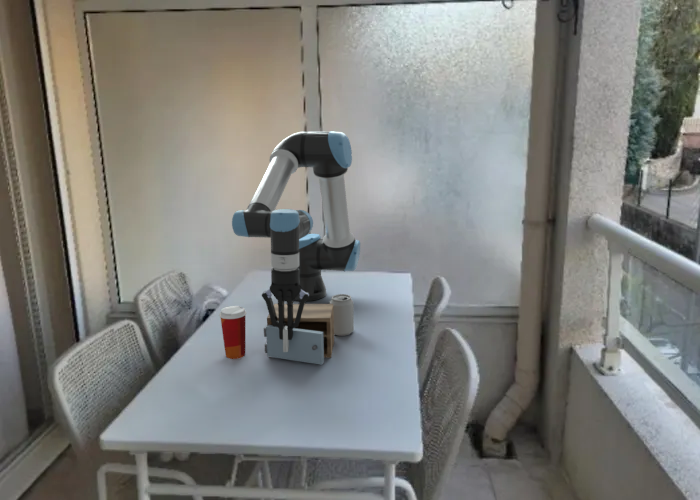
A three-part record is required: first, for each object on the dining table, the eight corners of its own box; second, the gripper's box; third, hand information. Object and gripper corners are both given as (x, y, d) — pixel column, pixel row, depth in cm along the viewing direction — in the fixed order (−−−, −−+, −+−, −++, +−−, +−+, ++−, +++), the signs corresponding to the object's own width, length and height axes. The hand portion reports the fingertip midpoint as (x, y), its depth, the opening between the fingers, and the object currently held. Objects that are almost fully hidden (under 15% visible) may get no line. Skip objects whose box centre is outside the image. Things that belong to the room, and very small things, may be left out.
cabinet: (276, 340, 175) (274, 303, 173) (334, 340, 175) (333, 303, 172) (268, 356, 164) (266, 317, 161) (331, 357, 163) (330, 318, 160)
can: (351, 337, 177) (350, 301, 174) (327, 336, 178) (327, 299, 176) (355, 328, 184) (355, 293, 181) (333, 327, 186) (332, 292, 183)
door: (266, 353, 164) (265, 324, 162) (324, 362, 158) (323, 331, 156) (262, 357, 161) (260, 327, 159) (320, 366, 155) (319, 335, 153)
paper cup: (239, 347, 171) (236, 303, 167) (254, 355, 165) (251, 309, 162) (216, 355, 165) (213, 310, 162) (231, 363, 160) (228, 316, 157)
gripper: (258, 270, 148) (260, 354, 154) (307, 272, 148) (307, 356, 153) (264, 263, 156) (266, 343, 161) (310, 264, 155) (311, 345, 160)
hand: (286, 350), depth 157 cm, fingers closed
